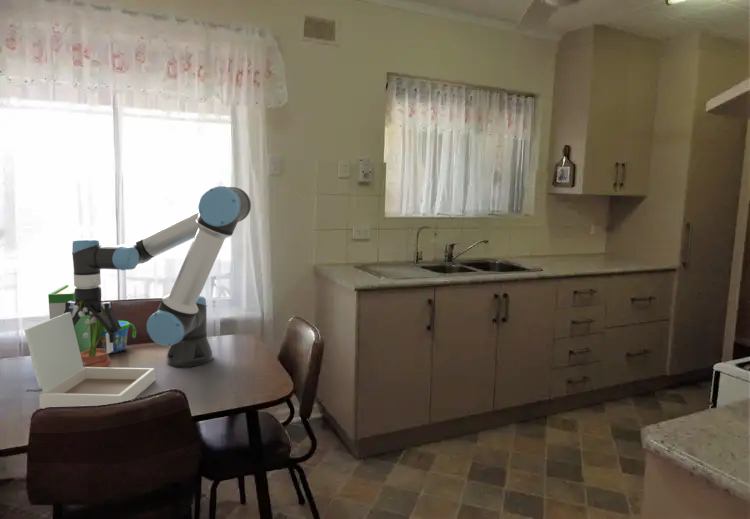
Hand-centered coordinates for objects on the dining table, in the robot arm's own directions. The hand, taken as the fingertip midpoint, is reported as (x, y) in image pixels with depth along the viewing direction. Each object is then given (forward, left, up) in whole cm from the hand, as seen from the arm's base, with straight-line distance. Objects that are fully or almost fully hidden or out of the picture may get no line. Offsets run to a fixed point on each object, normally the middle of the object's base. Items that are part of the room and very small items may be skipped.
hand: (91, 351), depth 169 cm
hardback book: (+15, -15, -7) cm, 22 cm away
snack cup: (+3, -21, -7) cm, 22 cm away
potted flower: (0, 0, -7) cm, 7 cm away
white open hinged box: (-11, +19, -6) cm, 23 cm away
